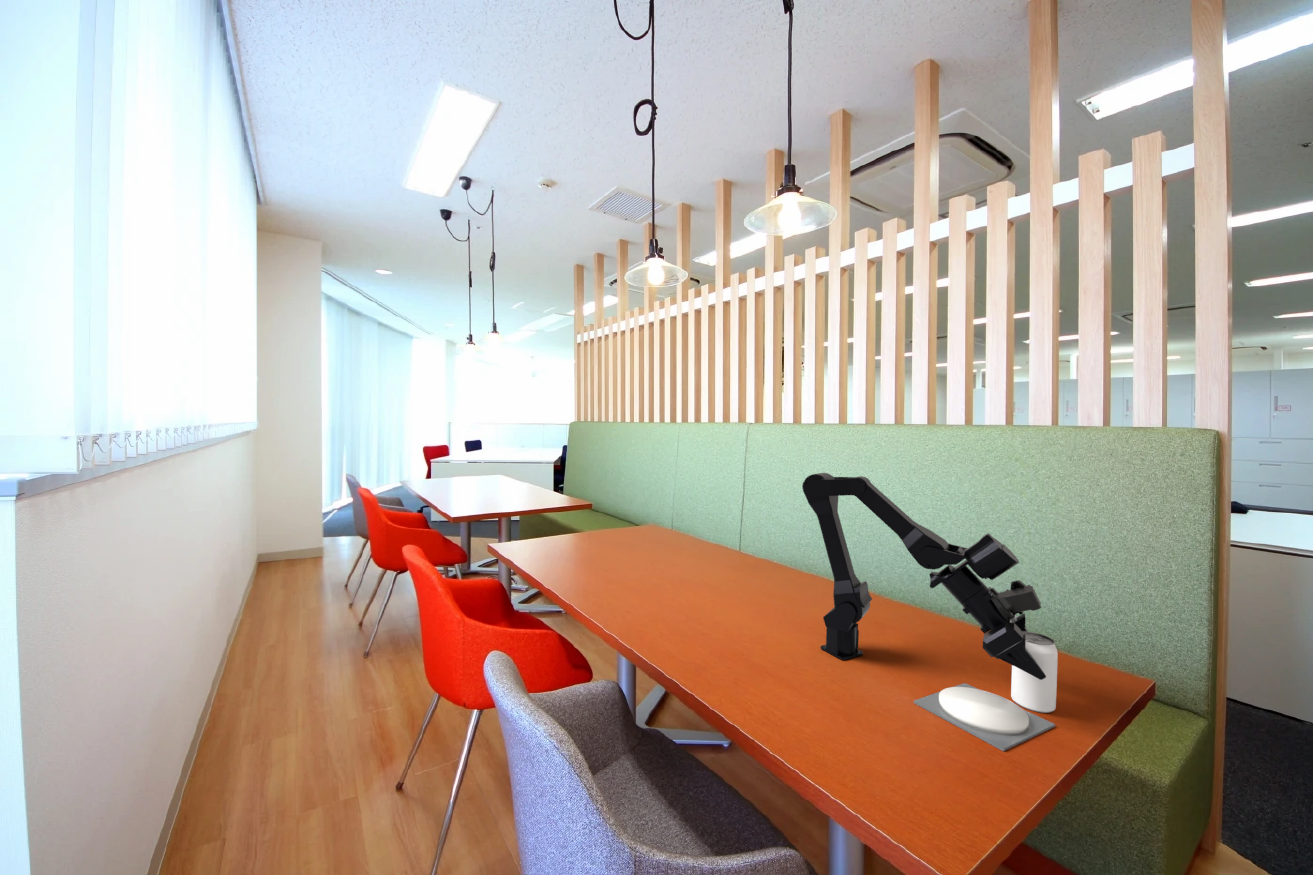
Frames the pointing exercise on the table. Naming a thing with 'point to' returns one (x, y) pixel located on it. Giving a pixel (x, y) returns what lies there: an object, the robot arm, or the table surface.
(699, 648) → the table surface
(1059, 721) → the table surface
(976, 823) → the table surface
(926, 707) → the dish
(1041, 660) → the can
